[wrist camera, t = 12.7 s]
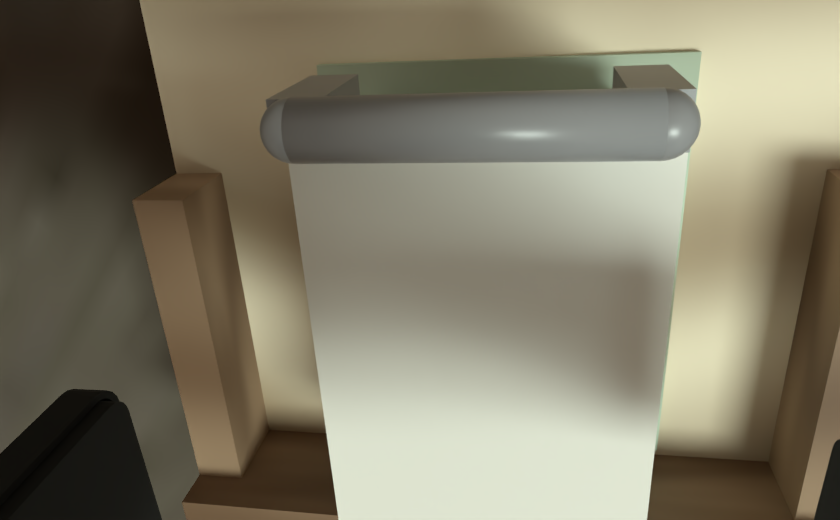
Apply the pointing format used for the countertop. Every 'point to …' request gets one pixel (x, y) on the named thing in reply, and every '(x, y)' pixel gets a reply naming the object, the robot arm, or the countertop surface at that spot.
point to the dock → (493, 72)
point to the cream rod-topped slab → (489, 289)
